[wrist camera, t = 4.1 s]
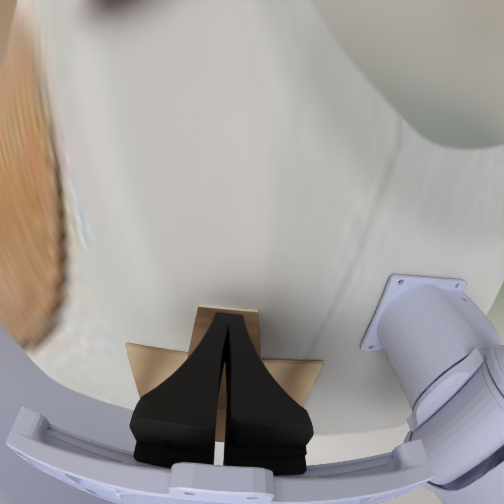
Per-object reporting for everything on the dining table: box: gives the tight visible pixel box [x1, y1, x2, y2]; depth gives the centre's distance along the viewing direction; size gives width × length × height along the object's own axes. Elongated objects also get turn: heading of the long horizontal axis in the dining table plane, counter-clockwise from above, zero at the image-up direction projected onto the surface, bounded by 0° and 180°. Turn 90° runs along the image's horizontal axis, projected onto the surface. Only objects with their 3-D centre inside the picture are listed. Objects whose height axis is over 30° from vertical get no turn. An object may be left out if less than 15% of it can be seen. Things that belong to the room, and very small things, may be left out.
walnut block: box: [187, 304, 261, 442], centre depth 18 cm, size 4×4×9 cm
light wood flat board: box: [125, 343, 323, 407], centre depth 25 cm, size 18×9×1 cm, turn 83°
